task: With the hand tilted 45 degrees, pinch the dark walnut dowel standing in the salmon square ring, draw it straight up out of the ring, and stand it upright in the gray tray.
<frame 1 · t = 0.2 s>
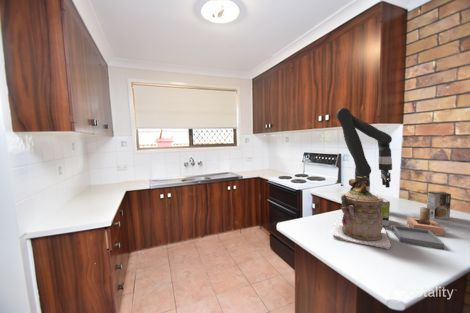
hand: (385, 186, 143), 18 cm above the countertop, tool pointing down, fingers open, 8 cm apart
coffee box: (437, 217, 132), on the countertop
tea box: (373, 221, 127), on the countertop
walnut dowel: (424, 218, 114), in the salmon square ring
gray tray: (415, 238, 104), on the countertop
cookie jar: (359, 235, 109), on the countertop
salmon square ring: (423, 229, 114), on the countertop
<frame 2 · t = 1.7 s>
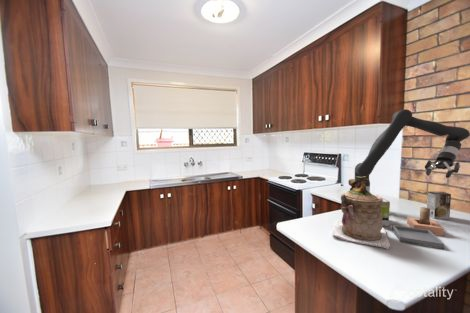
hand: (436, 175, 119), 29 cm above the countertop, tool tilted 45°, fingers open, 8 cm apart
nothing on the countertop moved.
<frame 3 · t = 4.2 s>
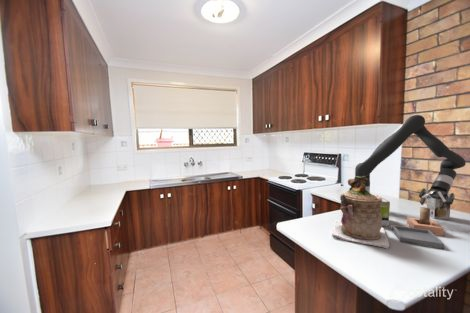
hand: (430, 206, 116), 12 cm above the countertop, tool tilted 45°, fingers open, 8 cm apart
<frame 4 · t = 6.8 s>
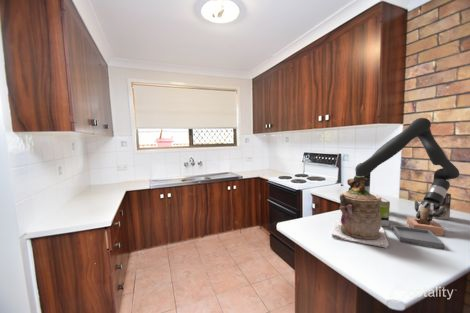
hand: (422, 219, 113), 6 cm above the countertop, tool tilted 45°, fingers closed on walnut dowel, 4 cm apart
walnut dowel: (424, 218, 114), in the salmon square ring, touching gripper
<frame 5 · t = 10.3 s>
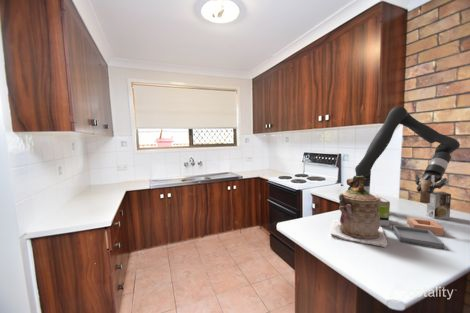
hand: (423, 191, 111), 22 cm above the countertop, tool tilted 45°, fingers closed on walnut dowel, 4 cm apart
walnut dowel: (425, 191, 111), point 22 cm above the countertop, touching gripper
when the fingers open (8 cm above the countertop, at t = 14.2 s): walnut dowel drops 1 cm, resting on gray tray.
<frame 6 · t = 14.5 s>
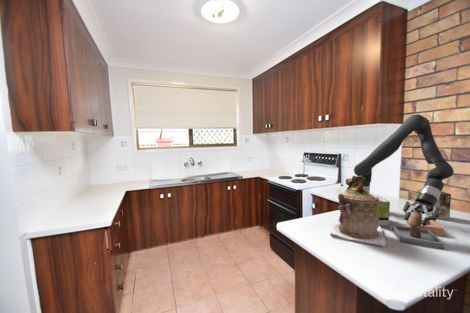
hand: (414, 222, 103), 9 cm above the countertop, tool tilted 45°, fingers open, 6 cm apart
walnut dowel: (416, 224, 104), in the gray tray, point 7 cm above the countertop
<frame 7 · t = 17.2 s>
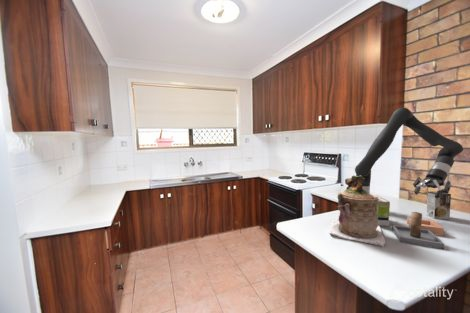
hand: (425, 195, 108), 21 cm above the countertop, tool tilted 45°, fingers open, 8 cm apart
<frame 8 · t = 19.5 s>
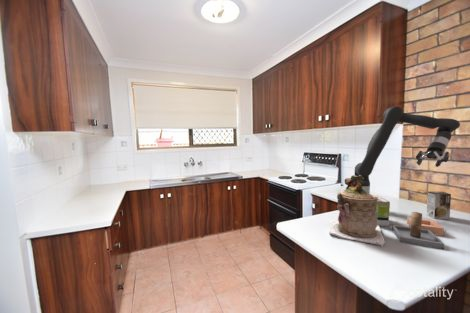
hand: (427, 165, 122), 35 cm above the countertop, tool tilted 45°, fingers open, 8 cm apart
at the end: walnut dowel inside the target area on the gray tray (0.1 cm from its centre), point 7.0 cm above the gray tray's base; walnut dowel tilted 0°; the gripper is holding nothing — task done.
